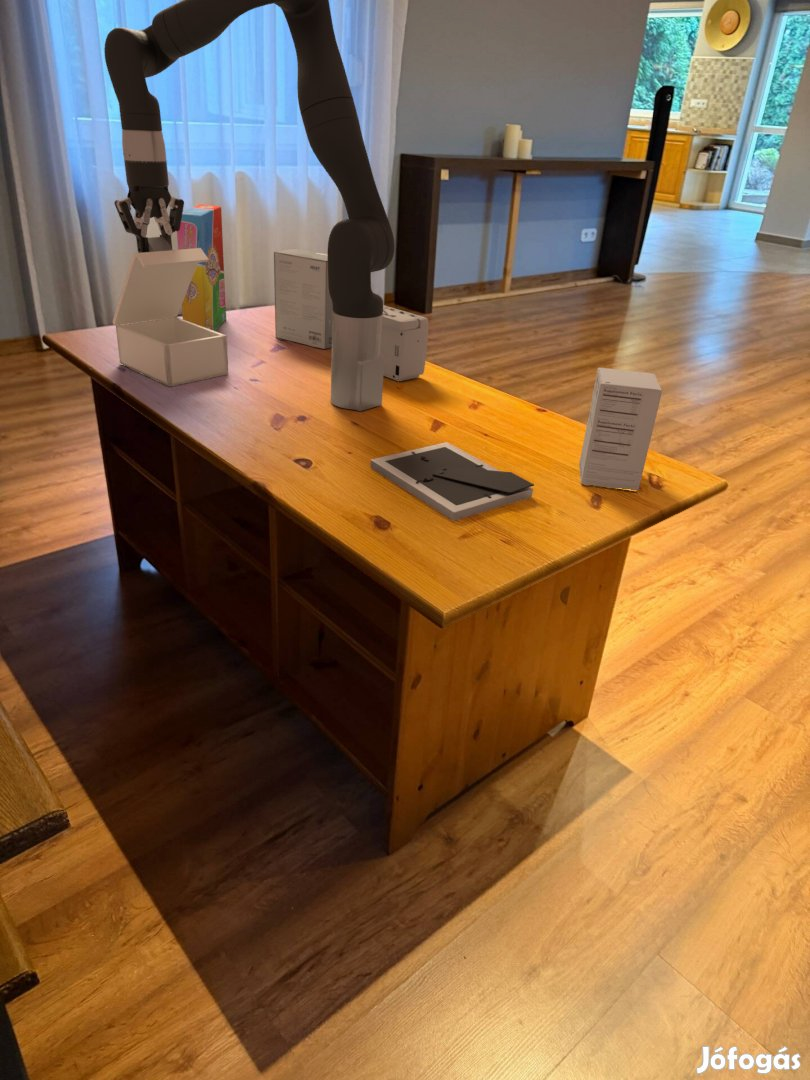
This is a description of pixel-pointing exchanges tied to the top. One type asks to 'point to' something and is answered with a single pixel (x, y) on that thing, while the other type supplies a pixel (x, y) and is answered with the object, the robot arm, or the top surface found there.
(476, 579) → the top surface
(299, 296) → the hard drive box
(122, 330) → the mailer box
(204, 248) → the game box
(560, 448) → the top surface
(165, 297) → the mailer lid
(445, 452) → the picture frame
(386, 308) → the stereo radio cassette player
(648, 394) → the supplement box
